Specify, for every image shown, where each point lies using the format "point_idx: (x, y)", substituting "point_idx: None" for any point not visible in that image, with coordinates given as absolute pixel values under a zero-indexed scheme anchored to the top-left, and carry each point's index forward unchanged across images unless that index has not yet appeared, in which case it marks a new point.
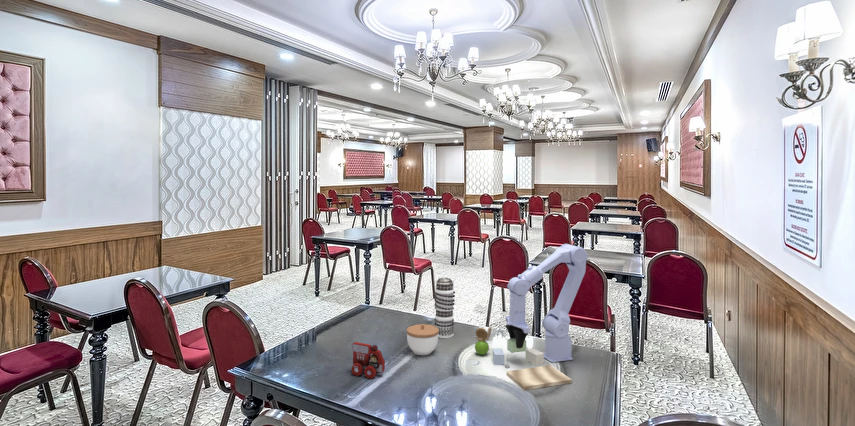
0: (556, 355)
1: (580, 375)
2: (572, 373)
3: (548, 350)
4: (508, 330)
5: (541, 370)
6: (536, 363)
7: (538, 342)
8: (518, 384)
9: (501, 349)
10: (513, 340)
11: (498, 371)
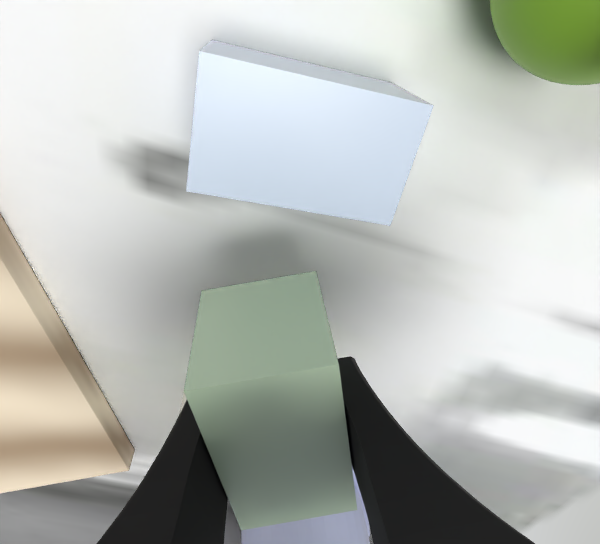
0: (242, 532)
1: (44, 537)
2: (67, 516)
3: (278, 530)
4: (427, 506)
5: (15, 404)
6: (183, 402)
7: (542, 478)
8: None
9: (365, 209)
10: (262, 422)
11: (13, 25)
